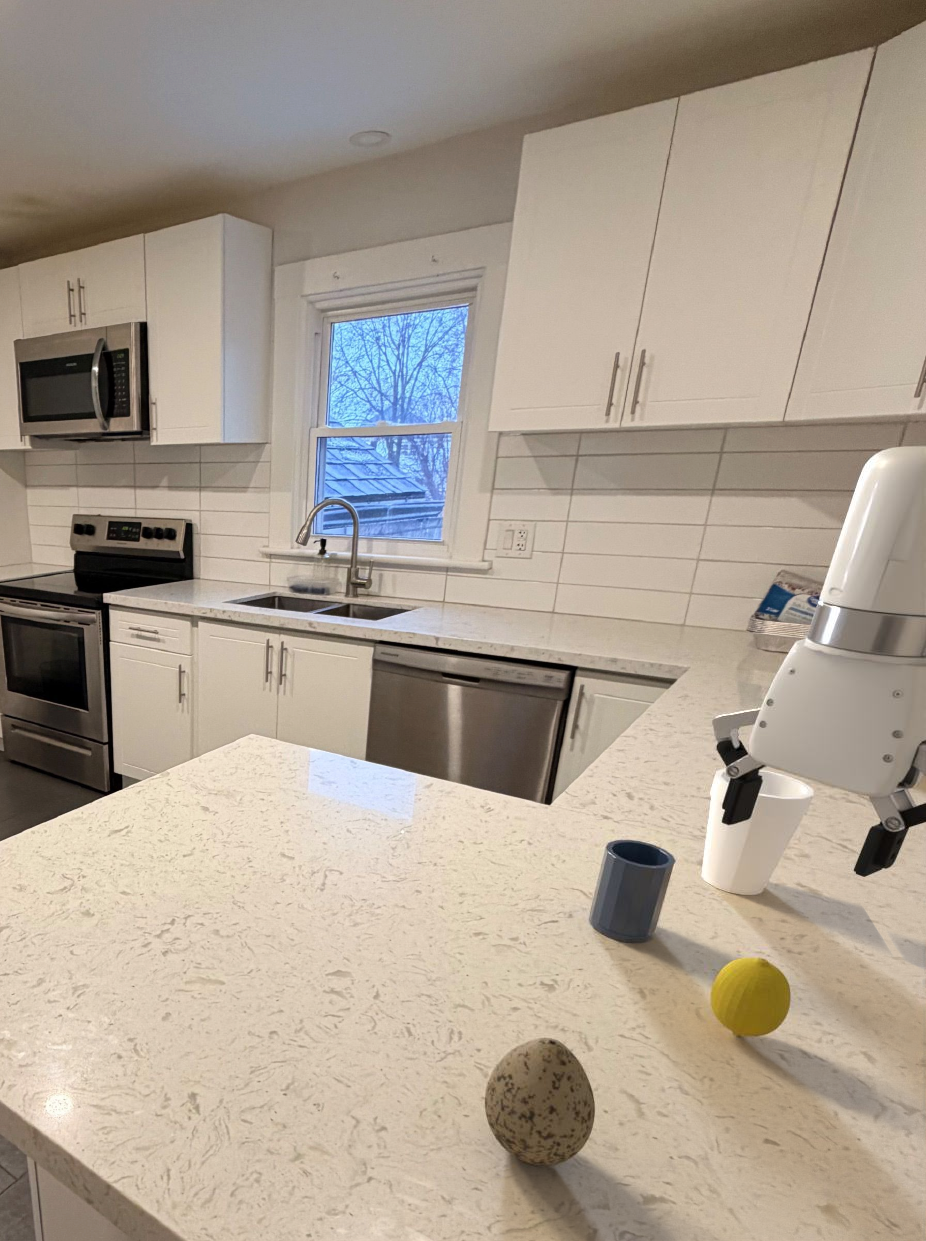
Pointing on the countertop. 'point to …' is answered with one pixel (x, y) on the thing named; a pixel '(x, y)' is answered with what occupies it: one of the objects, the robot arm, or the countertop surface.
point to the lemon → (750, 997)
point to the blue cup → (631, 890)
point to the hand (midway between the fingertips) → (797, 845)
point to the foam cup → (752, 833)
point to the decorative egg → (540, 1103)
